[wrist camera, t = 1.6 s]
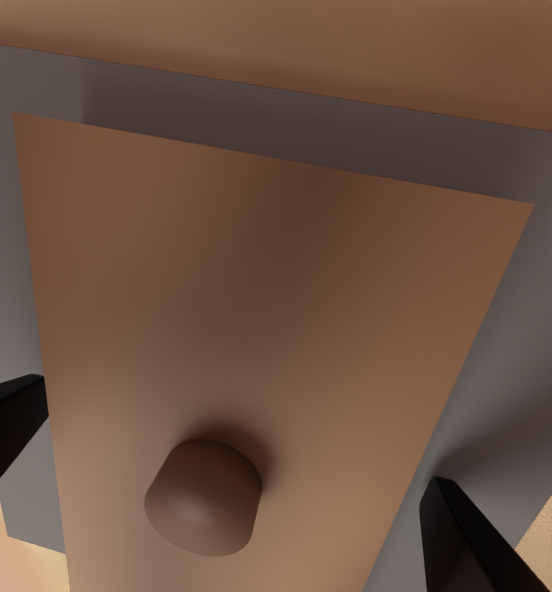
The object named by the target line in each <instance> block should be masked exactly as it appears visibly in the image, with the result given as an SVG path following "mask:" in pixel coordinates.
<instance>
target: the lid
mask: <svg viewBox="0 0 552 592" xmlns="http://www.w3.org/2000/svg"><path fill="white" fill-rule="evenodd" d="M12 118H13V126H14V134H15V142H16V150H17V158H18V167H19V175H20V183H21V191H22V199H23V208H24V216H25V224H26V232H27V240H28V248H29V257H30V265H31V273H32V281H33V289H34V297H35V306H36V314H37V322H38V330H39V338H40V347H41V355H42V363H43V371H44V379H45V387H46V396H47V404H48V412H49V420H50V428H51V436H52V445H53V453H54V461H55V469H56V477H57V486H58V494H59V502H60V510H61V518H62V526H63V535H64V543H65V551H66V559H67V567H68V576H69V584H70V592H362V590H363V588H364V585H365V583H366V581H367V579H368V576H369V574H370V572H371V570H372V567H373V565H374V563H375V561H376V558H377V556H378V554H379V552H380V549H381V547H382V545H383V543H384V541H385V538H386V536H387V534H388V532H389V529H390V527H391V525H392V523H393V520H394V518H395V516H396V514H397V511H398V509H399V507H400V505H401V502H402V500H403V498H404V496H405V493H406V491H407V489H408V487H409V485H410V482H411V480H412V478H413V476H414V473H415V471H416V469H417V467H418V464H419V462H420V460H421V458H422V455H423V453H424V451H425V449H426V446H427V444H428V442H429V440H430V438H431V435H432V433H433V431H434V429H435V426H436V424H437V422H438V420H439V417H440V415H441V413H442V411H443V408H444V406H445V404H446V402H447V399H448V397H449V395H450V393H451V390H452V388H453V386H454V384H455V382H456V379H457V377H458V375H459V373H460V370H461V368H462V366H463V364H464V361H465V359H466V357H467V355H468V352H469V350H470V348H471V346H472V343H473V341H474V339H475V337H476V334H477V332H478V330H479V328H480V326H481V323H482V321H483V319H484V317H485V314H486V312H487V310H488V308H489V305H490V303H491V301H492V299H493V296H494V294H495V292H496V290H497V287H498V285H499V283H500V281H501V278H502V276H503V274H504V272H505V270H506V267H507V265H508V263H509V261H510V258H511V256H512V254H513V252H514V249H515V247H516V245H517V243H518V240H519V238H520V236H521V234H522V231H523V229H524V227H525V225H526V223H527V220H528V218H529V216H530V214H531V211H532V209H533V207H534V205H535V204H530V203H525V202H520V201H514V200H509V199H504V198H498V197H493V196H488V195H482V194H476V193H471V192H465V191H460V190H454V189H448V188H443V187H437V186H431V185H426V184H420V183H414V182H409V181H403V180H398V179H392V178H386V177H381V176H375V175H369V174H364V173H358V172H352V171H347V170H341V169H335V168H330V167H324V166H319V165H313V164H307V163H302V162H296V161H290V160H285V159H279V158H273V157H268V156H262V155H257V154H251V153H245V152H240V151H234V150H228V149H223V148H217V147H211V146H206V145H200V144H195V143H189V142H183V141H178V140H172V139H166V138H161V137H155V136H149V135H144V134H138V133H133V132H127V131H121V130H116V129H110V128H104V127H99V126H93V125H87V124H82V123H76V122H70V121H64V120H59V119H53V118H47V117H41V116H35V115H29V114H24V113H18V112H12Z"/></svg>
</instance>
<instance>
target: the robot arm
mask: <svg viewBox="0 0 552 592" xmlns="http://www.w3.org/2000/svg"><path fill="white" fill-rule="evenodd" d="M48 417H49V412H48V404H47V396H46V387H45V379H44V376H43V375H39V374H28V375H25V376H21V377H18V378H15V379H12V380H8V381H5V382H2V383H0V478H1V477H2V475H3V474H4V473H5V472H6V471H7V469H8V468H9V467H10V466H11V465H12V463H13V462H14V461H15V460H16V458H17V457H18V456H19V454H20V453H21V452H22V451H23V449H24V448H25V447H26V445H27V444H28V443H29V442H30V440H31V439H32V438H33V436H34V435H35V434H36V433H37V431H38V430H39V429H40V427H41V426H42V425H43V424H44V422H45V421H46V420H47V418H48ZM419 516H420V527H421V537H422V548H423V558H424V569H425V579H426V588H427V592H550V591H549V589H548V588H547V587H546V586H545V585H544V584H543V582H542V581H541V580H540V579H539V578H538V577H537V576H536V574H535V573H534V572H533V571H532V570H531V569H530V567H529V566H528V565H527V564H526V563H525V562H524V560H523V559H522V558H521V557H520V556H519V555H518V553H517V552H516V551H515V550H514V549H513V548H512V547H511V545H510V544H509V543H508V542H507V541H506V540H505V538H504V537H503V536H502V535H501V534H500V533H499V531H498V530H497V529H496V528H495V527H494V526H493V525H492V523H491V522H490V521H489V520H488V519H487V518H486V516H485V515H484V514H483V513H482V512H481V511H480V509H479V508H478V507H477V506H476V505H475V504H474V502H473V501H472V500H471V499H470V498H469V497H468V496H467V494H466V493H465V492H464V491H463V490H462V489H461V487H460V486H459V485H458V484H457V483H456V482H455V481H454V480H451V479H448V478H444V477H440V476H433V477H432V478H431V479H430V481H429V483H428V485H427V488H426V490H425V492H424V494H423V496H422V498H421V501H420V505H419Z"/></svg>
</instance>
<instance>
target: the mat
mask: <svg viewBox="0 0 552 592" xmlns="http://www.w3.org/2000/svg"><path fill="white" fill-rule="evenodd" d="M12 112H18V113H24V114H29V115H35V116H41V117H47V118H53V119H59V120H64V121H70V122H76V123H82V124H87V125H93V126H99V127H104V128H110V129H116V130H121V131H127V132H133V133H138V134H144V135H149V136H155V137H161V138H166V139H172V140H178V141H183V142H189V143H195V144H200V145H206V146H211V147H217V148H223V149H228V150H234V151H240V152H245V153H251V154H257V155H262V156H268V157H273V158H279V159H285V160H290V161H296V162H302V163H307V164H313V165H319V166H324V167H330V168H335V169H341V170H347V171H352V172H358V173H364V174H369V175H375V176H381V177H386V178H392V179H398V180H403V181H409V182H414V183H420V184H426V185H431V186H437V187H443V188H448V189H454V190H460V191H465V192H471V193H476V194H482V195H488V196H493V197H498V198H504V199H509V200H514V201H520V202H525V203H530V204H535V205H534V207H533V209H532V211H531V214H530V216H529V218H528V220H527V223H526V225H525V227H524V229H523V231H522V234H521V236H520V238H519V240H518V243H517V245H516V247H515V249H514V252H513V254H512V256H511V258H510V261H509V263H508V265H507V267H506V270H505V272H504V274H503V276H502V278H501V281H500V283H499V285H498V287H497V290H496V292H495V294H494V296H493V299H492V301H491V303H490V305H489V308H488V310H487V312H486V314H485V317H484V319H483V321H482V323H481V326H480V328H479V330H478V332H477V334H476V337H475V339H474V341H473V343H472V346H471V348H470V350H469V352H468V355H467V357H466V359H465V361H464V364H463V366H462V368H461V370H460V373H459V375H458V377H457V379H456V382H455V384H454V386H453V388H452V390H451V393H450V395H449V397H448V399H447V402H446V404H445V406H444V408H443V411H442V413H441V415H440V417H439V420H438V422H437V424H436V426H435V429H434V431H433V433H432V435H431V438H430V440H429V442H428V444H427V446H426V449H425V451H424V453H423V455H422V458H421V460H420V462H419V464H418V467H417V469H416V471H415V473H414V476H413V478H412V480H411V482H410V485H409V487H408V489H407V491H406V493H405V496H404V498H403V500H402V502H401V505H400V507H399V509H398V511H397V514H396V516H395V518H394V520H393V523H392V525H391V527H390V529H389V532H388V534H387V536H386V538H385V541H384V543H383V545H382V547H381V549H380V552H379V554H378V556H377V558H376V561H375V563H374V565H373V567H372V570H371V572H370V574H369V576H368V579H367V581H366V583H365V585H364V588H363V590H362V592H427V588H426V579H425V569H424V558H423V548H422V537H421V527H420V516H419V505H420V501H421V498H422V496H423V494H424V492H425V490H426V488H427V485H428V483H429V481H430V479H431V478H432V477H433V476H440V477H444V478H448V479H451V480H454V481H455V482H456V483H457V484H458V485H459V486H460V487H461V489H462V490H463V491H464V492H465V493H466V494H467V496H468V497H469V498H470V499H471V500H472V501H473V502H474V504H475V505H476V506H477V507H478V508H479V509H480V511H481V512H482V513H483V514H484V515H485V516H486V518H487V519H488V520H489V521H490V522H491V523H492V525H493V526H494V527H495V528H496V529H497V530H498V531H499V533H500V534H501V535H502V536H503V537H504V538H505V540H506V541H507V542H508V543H509V544H510V545H511V547H512V548H513V549H515V547H516V546H517V544H518V543H519V542H520V540H521V539H522V537H523V536H524V534H525V533H526V531H527V530H528V528H529V527H530V526H531V524H532V523H533V521H534V520H535V518H536V517H537V515H538V514H539V512H540V511H541V510H542V508H543V507H544V505H545V504H546V502H547V501H548V499H549V498H550V496H551V495H552V132H549V131H543V130H536V129H530V128H524V127H517V126H511V125H505V124H498V123H492V122H486V121H479V120H473V119H467V118H460V117H454V116H448V115H441V114H435V113H429V112H422V111H416V110H410V109H403V108H397V107H391V106H384V105H378V104H372V103H365V102H359V101H353V100H346V99H340V98H334V97H327V96H321V95H315V94H308V93H302V92H296V91H289V90H283V89H277V88H270V87H264V86H257V85H251V84H245V83H238V82H232V81H226V80H219V79H213V78H207V77H200V76H194V75H188V74H181V73H175V72H169V71H162V70H156V69H150V68H143V67H137V66H131V65H124V64H118V63H112V62H105V61H99V60H93V59H86V58H80V57H74V56H67V55H61V54H55V53H48V52H42V51H36V50H29V49H23V48H17V47H10V46H4V45H0V383H2V382H5V381H8V380H12V379H15V378H18V377H21V376H25V375H28V374H39V375H43V376H44V371H43V363H42V355H41V347H40V338H39V330H38V322H37V314H36V306H35V297H34V289H33V281H32V273H31V265H30V257H29V248H28V240H27V232H26V224H25V216H24V208H23V199H22V191H21V183H20V175H19V167H18V158H17V150H16V142H15V134H14V126H13V118H12ZM0 503H1V507H2V512H3V516H4V521H5V525H6V530H7V534H8V536H9V537H12V538H15V539H19V540H22V541H25V542H28V543H32V544H35V545H38V546H41V547H45V548H48V549H51V550H54V551H58V552H61V553H64V554H66V551H65V543H64V535H63V526H62V518H61V510H60V502H59V494H58V486H57V477H56V469H55V461H54V453H53V445H52V436H51V428H50V420H49V417H48V418H47V420H46V421H45V422H44V424H43V425H42V426H41V427H40V429H39V430H38V431H37V433H36V434H35V435H34V436H33V438H32V439H31V440H30V442H29V443H28V444H27V445H26V447H25V448H24V449H23V451H22V452H21V453H20V454H19V456H18V457H17V458H16V460H15V461H14V462H13V463H12V465H11V466H10V467H9V468H8V469H7V471H6V472H5V473H4V474H3V475H2V477H1V478H0Z"/></svg>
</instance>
